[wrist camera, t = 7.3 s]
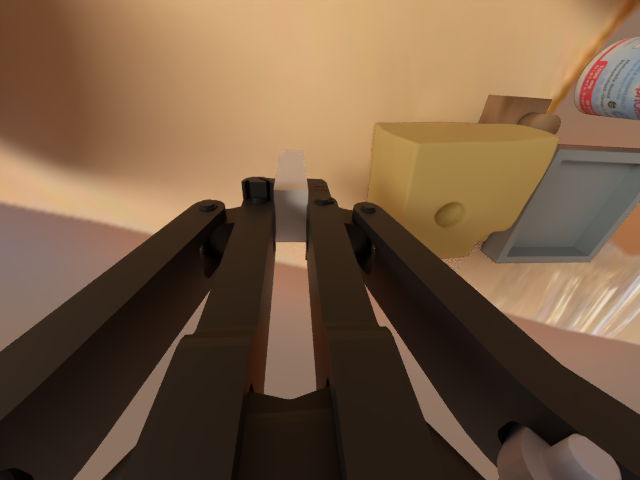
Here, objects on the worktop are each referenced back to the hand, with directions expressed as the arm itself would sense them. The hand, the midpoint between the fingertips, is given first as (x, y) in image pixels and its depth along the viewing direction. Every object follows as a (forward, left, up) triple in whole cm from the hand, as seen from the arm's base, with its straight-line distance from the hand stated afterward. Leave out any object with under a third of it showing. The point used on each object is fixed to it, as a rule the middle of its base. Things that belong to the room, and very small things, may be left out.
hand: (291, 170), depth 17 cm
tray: (+6, +33, -9) cm, 35 cm away
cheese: (+2, +13, -9) cm, 16 cm away
